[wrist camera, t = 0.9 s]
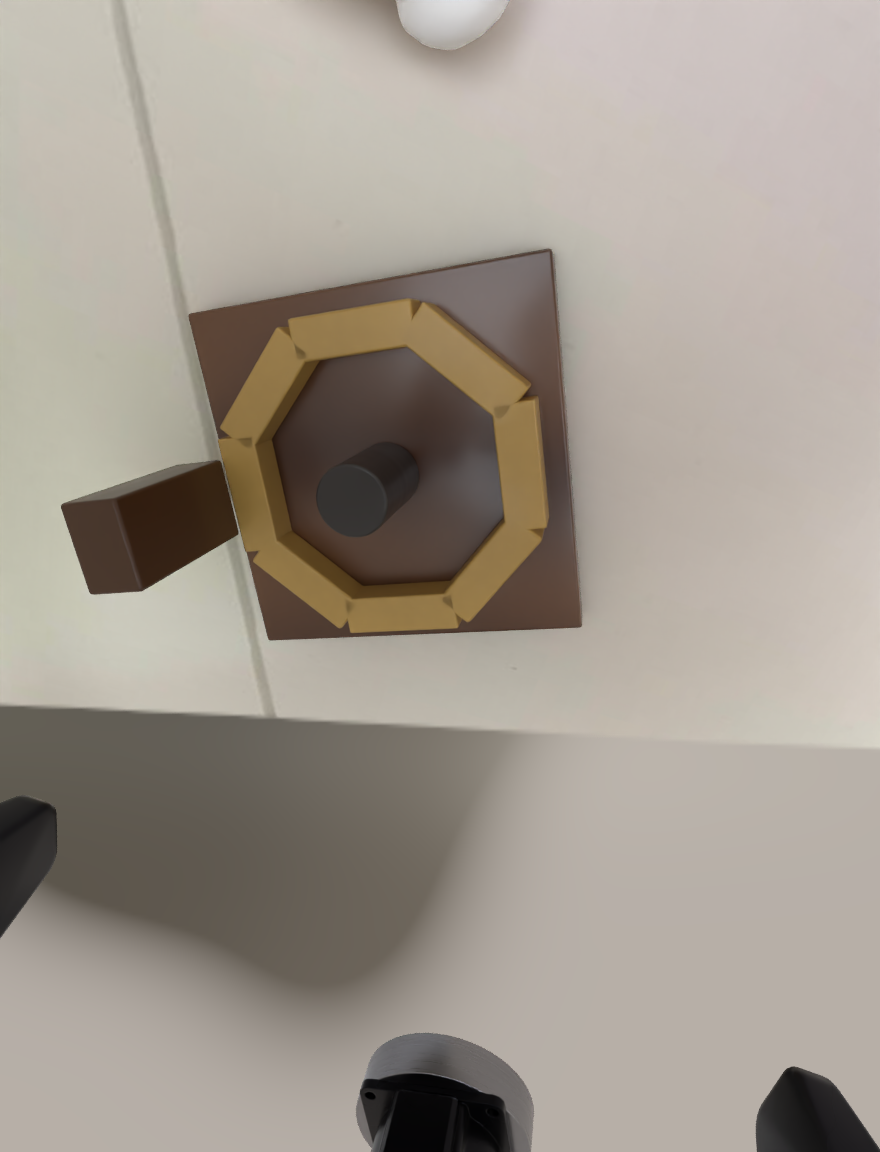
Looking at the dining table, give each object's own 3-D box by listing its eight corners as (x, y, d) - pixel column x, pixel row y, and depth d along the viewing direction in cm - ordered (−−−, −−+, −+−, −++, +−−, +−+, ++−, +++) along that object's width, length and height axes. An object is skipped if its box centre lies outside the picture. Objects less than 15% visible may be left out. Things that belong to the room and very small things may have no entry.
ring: (557, 609, 21) (545, 714, 15) (240, 624, 24) (130, 718, 18) (528, 280, 18) (498, 260, 12) (167, 342, 21) (5, 348, 15)
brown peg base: (582, 615, 22) (580, 683, 18) (279, 629, 25) (216, 690, 20) (554, 251, 18) (542, 229, 14) (204, 314, 21) (109, 311, 17)
